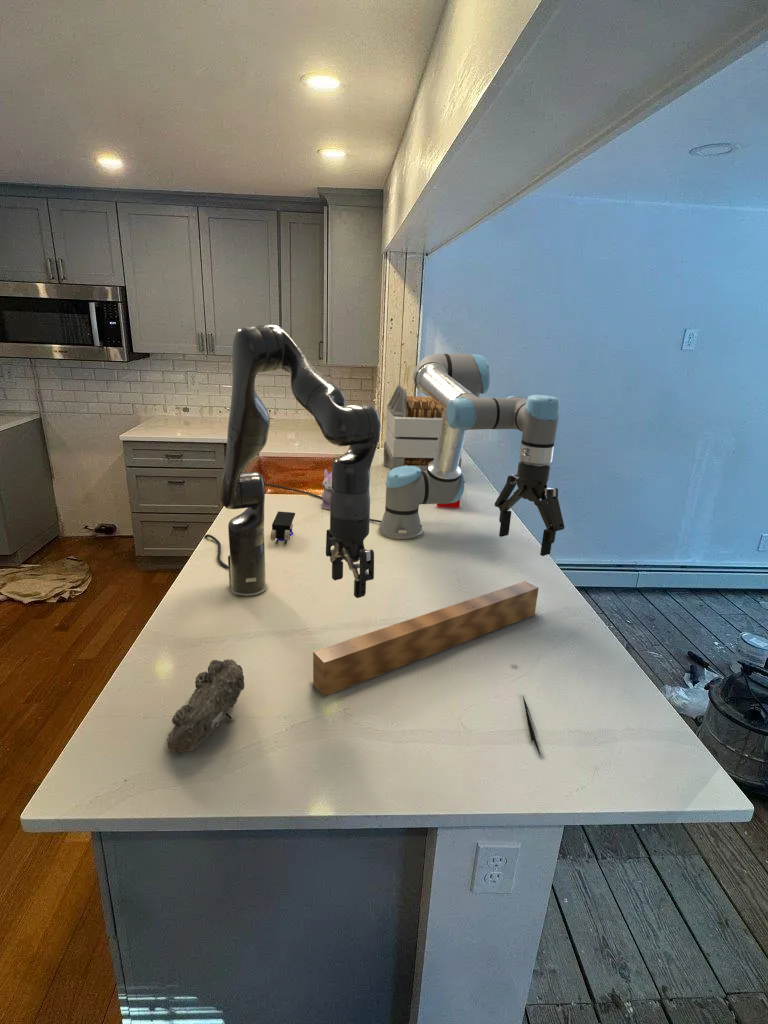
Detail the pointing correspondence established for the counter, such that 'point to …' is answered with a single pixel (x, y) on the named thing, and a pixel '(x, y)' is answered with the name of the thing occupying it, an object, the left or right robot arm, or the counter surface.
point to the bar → (419, 637)
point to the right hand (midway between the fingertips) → (523, 544)
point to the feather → (530, 725)
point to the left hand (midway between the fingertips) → (348, 587)
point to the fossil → (206, 705)
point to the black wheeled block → (282, 527)
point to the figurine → (327, 489)
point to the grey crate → (411, 430)
